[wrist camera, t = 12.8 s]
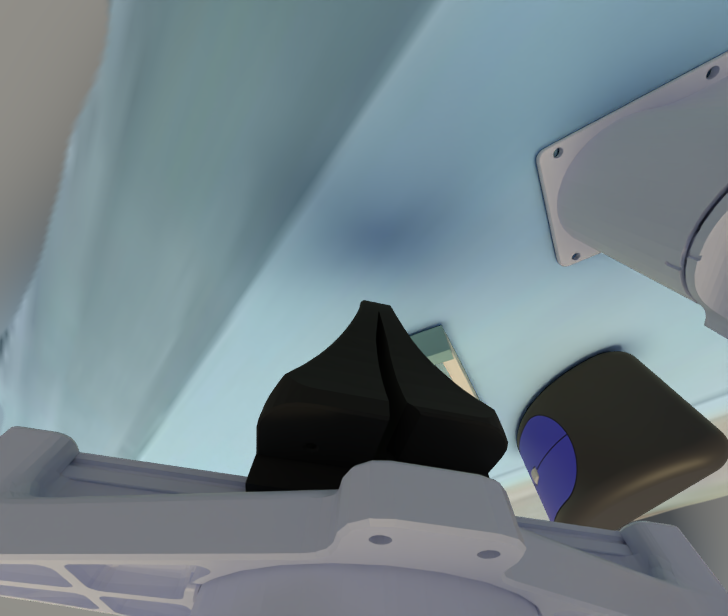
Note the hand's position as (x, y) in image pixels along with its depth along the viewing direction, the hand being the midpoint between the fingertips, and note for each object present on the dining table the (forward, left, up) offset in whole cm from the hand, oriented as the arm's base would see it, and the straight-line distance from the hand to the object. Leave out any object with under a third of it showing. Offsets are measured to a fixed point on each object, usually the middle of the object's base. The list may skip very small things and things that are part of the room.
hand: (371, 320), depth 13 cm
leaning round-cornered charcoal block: (-9, +23, -9) cm, 26 cm away
